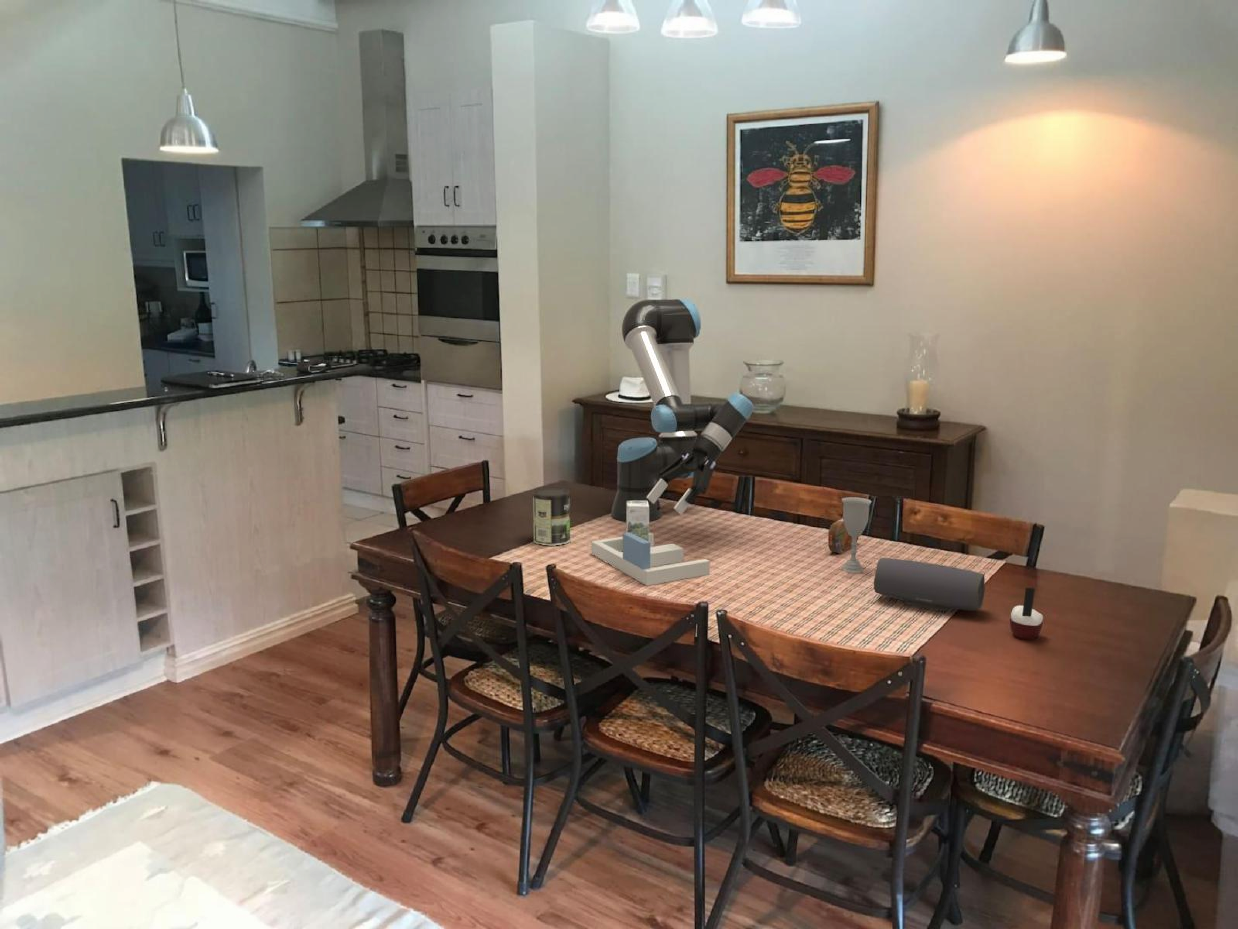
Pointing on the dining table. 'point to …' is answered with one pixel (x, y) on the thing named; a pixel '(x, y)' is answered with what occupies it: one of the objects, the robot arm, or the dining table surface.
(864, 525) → the chalice
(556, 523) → the coffee can
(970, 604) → the bluetooth speaker
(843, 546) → the brown stone slab
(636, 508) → the syrup box
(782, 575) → the dining table surface
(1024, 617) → the cocoa
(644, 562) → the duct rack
